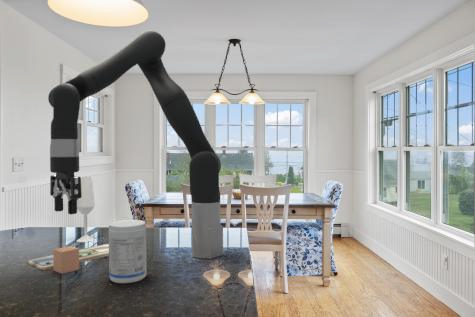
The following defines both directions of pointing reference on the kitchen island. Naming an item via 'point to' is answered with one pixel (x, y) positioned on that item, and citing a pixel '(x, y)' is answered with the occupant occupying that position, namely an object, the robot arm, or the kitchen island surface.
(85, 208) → the champagne flute
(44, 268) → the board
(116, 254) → the supplement tub
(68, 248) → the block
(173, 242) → the kitchen island surface
